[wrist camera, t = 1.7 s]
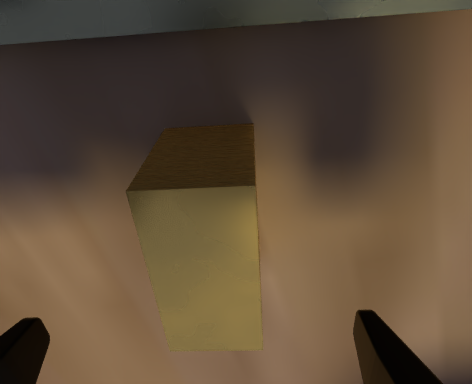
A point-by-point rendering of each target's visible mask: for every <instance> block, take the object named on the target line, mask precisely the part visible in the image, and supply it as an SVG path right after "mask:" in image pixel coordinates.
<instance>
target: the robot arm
mask: <svg viewBox="0 0 472 384" xmlns="http://www.w3.org/2000/svg"><path fill="white" fill-rule="evenodd" d="M353 335H354V341H355V346H356V350H357V355H358V360H359V365H360V369H361V374H362V379H363V384H443V383H442V382H441V381H440V380H439V379H438V378H437V377H436V376H435V375H434V374H433V372H432V371H431V370H430V369H429V368H428V367H427V366H426V365H425V364H424V363H423V362H422V361H421V360H420V359H419V358H418V357H417V356H416V355H415V354H414V353H413V352H412V351H411V349H410V348H409V347H408V346H407V345H406V344H405V343H404V342H403V341H402V340H401V339H400V338H399V337H398V336H397V335H396V334H395V333H394V332H393V331H392V330H391V329H390V327H389V326H388V325H387V324H386V323H385V322H384V321H383V320H382V319H381V318H380V317H379V316H378V315H377V314H376V313H375V312H374V311H372V310H358V311H357V312H356V316H355V322H354V328H353ZM49 343H50V335H49V333H48V331H47V329H46V328H45V326H44V324H43V322H42V320H41V319H40V318H37V317H33V318H24V319H22V320H20V321H19V322H18V323H17V324H15V325H14V326H13V327H11V328H10V329H9V330H7V331H6V332H5V333H4V334H2V335H1V336H0V384H36V382H37V379H38V376H39V373H40V370H41V367H42V364H43V361H44V358H45V355H46V352H47V349H48V346H49Z"/></svg>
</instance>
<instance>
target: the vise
mask: <svg viewBox="0 0 472 384" xmlns="http://www.w3.org/2000/svg"><path fill="white" fill-rule="evenodd" d="M463 9H472V0H0V45H5V44H18V43H31V42H44V41H57V40H70V39H84V38H97V37H110V36H123V35H136V34H149V33H162V32H175V31H188V30H201V29H215V28H228V27H241V26H254V25H267V24H280V23H293V22H306V21H319V20H332V19H346V18H359V17H372V16H385V15H398V14H411V13H424V12H437V11H450V10H463Z"/></svg>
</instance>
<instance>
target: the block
mask: <svg viewBox="0 0 472 384" xmlns="http://www.w3.org/2000/svg"><path fill="white" fill-rule="evenodd" d="M126 194H127V197H128V201H129V205H130V208H131V212H132V216H133V219H134V223H135V226H136V230H137V234H138V237H139V241H140V245H141V248H142V252H143V255H144V259H145V263H146V266H147V270H148V273H149V277H150V281H151V284H152V288H153V292H154V295H155V299H156V302H157V306H158V310H159V313H160V317H161V320H162V324H163V328H164V331H165V335H166V339H167V342H168V346H169V349H170V351H234V350H263V332H262V306H261V280H260V255H259V234H258V212H257V191H256V169H255V148H254V126H253V123H251V124H234V125H217V126H199V127H182V128H165V129H164V131H163V132H162V134H161V136H160V137H159V139H158V141H157V142H156V144H155V145H154V147H153V149H152V150H151V152H150V153H149V155H148V157H147V158H146V160H145V161H144V163H143V165H142V166H141V168H140V169H139V171H138V173H137V174H136V176H135V178H134V179H133V181H132V182H131V184H130V186H129V187H128V189H127V190H126Z"/></svg>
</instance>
